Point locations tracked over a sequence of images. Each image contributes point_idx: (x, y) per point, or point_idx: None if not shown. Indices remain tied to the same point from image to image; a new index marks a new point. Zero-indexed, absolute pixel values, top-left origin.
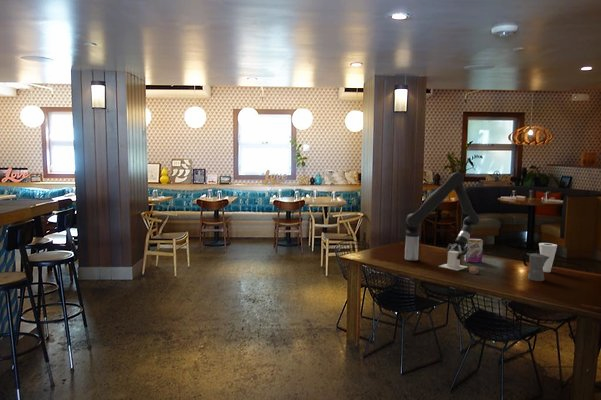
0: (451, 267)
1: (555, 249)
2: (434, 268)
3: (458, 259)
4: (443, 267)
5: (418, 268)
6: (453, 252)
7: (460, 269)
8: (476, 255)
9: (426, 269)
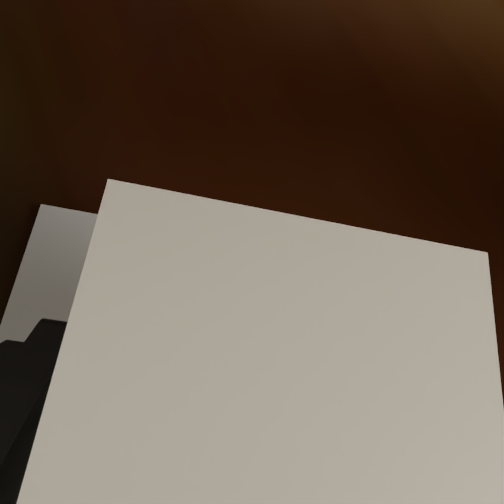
0: None
1: None
2: (379, 134)
3: None
4: None
5: (497, 37)
6: (244, 249)
7: (8, 306)
8: None
9: (414, 41)
